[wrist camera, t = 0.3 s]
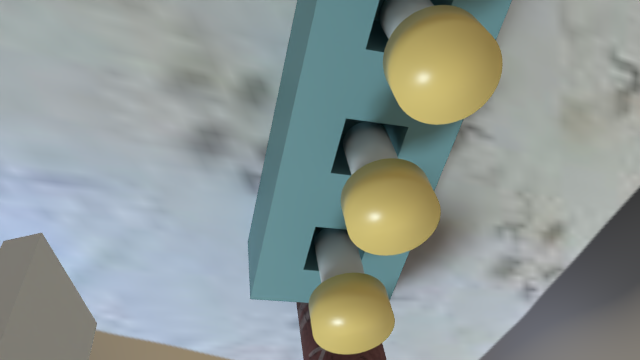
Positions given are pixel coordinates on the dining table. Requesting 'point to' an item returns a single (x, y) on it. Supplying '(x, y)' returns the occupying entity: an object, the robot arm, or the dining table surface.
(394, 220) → the plunger mid
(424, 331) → the dining table surface
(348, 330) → the plunger
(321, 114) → the mount
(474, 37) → the plunger
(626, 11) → the dining table surface
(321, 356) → the can
